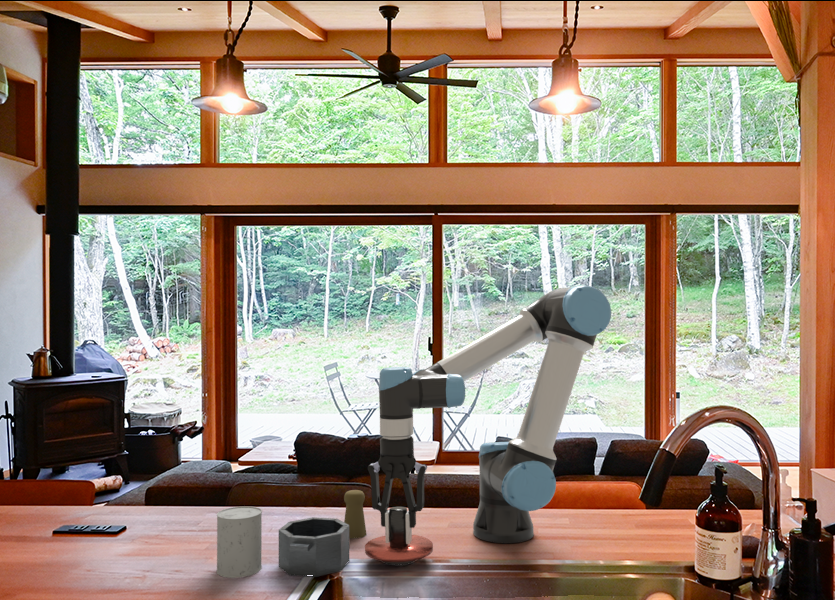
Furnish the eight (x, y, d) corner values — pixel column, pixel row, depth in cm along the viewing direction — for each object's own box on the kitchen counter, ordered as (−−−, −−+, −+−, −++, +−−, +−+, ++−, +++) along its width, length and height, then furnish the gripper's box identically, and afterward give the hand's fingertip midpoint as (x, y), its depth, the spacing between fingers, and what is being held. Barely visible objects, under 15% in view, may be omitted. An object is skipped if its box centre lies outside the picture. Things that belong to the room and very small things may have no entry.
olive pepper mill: (362, 539, 162) (362, 494, 162) (339, 537, 163) (339, 493, 163) (369, 531, 168) (369, 488, 168) (346, 530, 169) (346, 487, 169)
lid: (438, 548, 152) (437, 500, 152) (426, 573, 137) (425, 520, 137) (375, 545, 155) (374, 498, 155) (356, 569, 140) (355, 517, 140)
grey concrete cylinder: (221, 562, 147) (222, 507, 147) (264, 560, 148) (265, 505, 148) (212, 578, 137) (212, 519, 138) (258, 577, 138) (258, 518, 139)
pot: (357, 551, 153) (357, 516, 153) (331, 582, 135) (331, 543, 135) (299, 547, 156) (299, 513, 156) (266, 577, 138) (266, 539, 138)
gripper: (436, 433, 149) (439, 537, 148) (364, 432, 152) (366, 534, 151) (431, 439, 142) (433, 549, 141) (355, 438, 145) (357, 545, 144)
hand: (398, 541), depth 146 cm, fingers closed on lid, 4 cm apart
